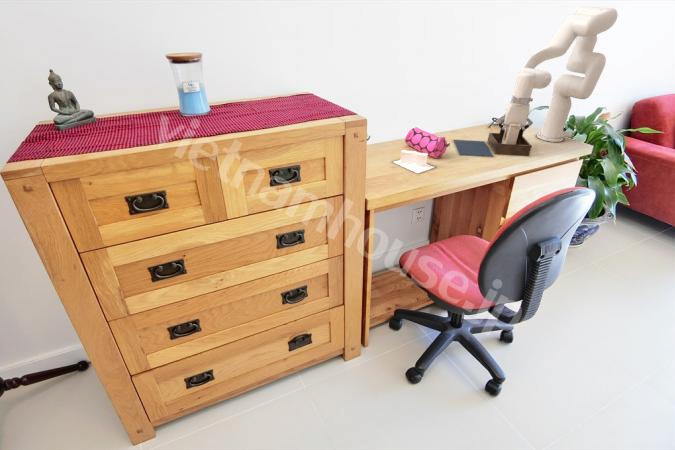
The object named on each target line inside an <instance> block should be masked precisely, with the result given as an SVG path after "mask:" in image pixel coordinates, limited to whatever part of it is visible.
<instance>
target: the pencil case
mask: <svg viewBox="0 0 675 450" xmlns="http://www.w3.org/2000/svg"><path fill="white" fill-rule="evenodd" d="M404 142H405V144H406V145H407V146H410V147H411V148H413V149H415V150H417V151H419V152H420V153H428V156H429V157H433V158H435V159H439V158H441V157H442V156H443V155H444V154H445V153H446V151H447V148H449V147H450V145H451V143H447V140H446V136H441V135H436V134H433V133H431V132H429V131H425V130H423V129H421V128H419V127H417V126H415V127H413V128H411V129H409V131H408V132H407V134H406V136H405V139H404Z"/></svg>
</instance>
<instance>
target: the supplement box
mask: <svg viewBox="0 0 675 450" xmlns="http://www.w3.org/2000/svg"><path fill="white" fill-rule="evenodd" d="M520 129H521V125H520V124H510V125H508V126H507V127H506V128H505V129H504V130H505V132H504V136H503V140H502V143H500V144H515V145H517V144H516V141H517V137H518V134H519V130H520Z"/></svg>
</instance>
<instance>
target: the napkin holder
mask: <svg viewBox="0 0 675 450" xmlns="http://www.w3.org/2000/svg"><path fill="white" fill-rule="evenodd" d="M428 156H429V155H428V153H423V152H418V150H417V151H416V150H405V149H401V151H400V157H399V159H398V160H395V161H393V162H392V163H394V164H396V165H398V166H399V167H403V168H405V169H406V170H409V171H411V172H413V173H415V174H421V173H423V172H426V171H429V170H432V169H434V168H435V166H433V165H431V164H428V163H427V161H428Z"/></svg>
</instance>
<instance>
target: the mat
mask: <svg viewBox="0 0 675 450" xmlns="http://www.w3.org/2000/svg"><path fill="white" fill-rule="evenodd" d="M453 141H454V145H455V146H456V149H457V151H458V153H459V155H460V156H471V157H490V158H493V157H494V155H493V153H492V152H491V150H490V149H489V147H488V146H487V144H486V142H485V141H482V140H466V139H465V140H464V139H462V140H461V139H454V140H453Z"/></svg>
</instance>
